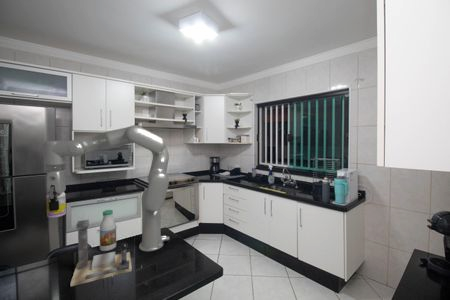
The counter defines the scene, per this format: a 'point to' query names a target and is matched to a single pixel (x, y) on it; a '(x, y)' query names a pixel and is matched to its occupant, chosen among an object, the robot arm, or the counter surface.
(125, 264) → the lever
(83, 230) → the press
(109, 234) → the milk bottle
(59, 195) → the supplement bottle
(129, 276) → the counter surface
